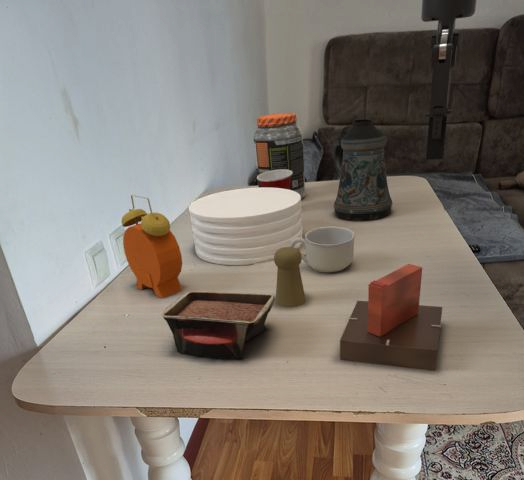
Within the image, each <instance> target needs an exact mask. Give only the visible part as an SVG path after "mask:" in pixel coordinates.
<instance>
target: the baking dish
mask: <svg viewBox="0 0 524 480" xmlns="http://www.w3.org/2000/svg"><path fill="white" fill-rule="evenodd" d="M274 301H275V295H274V293H255V292H253V293H252V292H231V291H229V292H228V291H205V290H204V291H202V290H200V291H199V290H192V291H187V292H186V293H184V294H182V295H181V296H180V297H178V298H176V300H174V301H173V302H172V303H170V304H169V306H167V307H166V308H165V310H164V311H163V312H162V313H161V317H162V318H163V319H164V320H165V322H166V323H167V325H168V327H169V329H170V331H171V333H172V337H173V340H174V345H175V348H176V353H178V354H180V355H184V356H190V357H195V358H200V359H201V358H204V359H213V360H236V361H237V360H238V361H239V360H243V358H244V349H245V348H244V347H245V343H246V342H248V341H249V340H251V339H253V338H254V337H257V336H258V335H259V334H260V333H262V332H264V331H266V330H267V326H266V325H265V324H266V321H267V317H268V315H269V313H270V312H271V310H272V308H273V305H274Z"/></svg>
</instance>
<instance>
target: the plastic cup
mask: <svg viewBox="0 0 524 480" xmlns="http://www.w3.org/2000/svg"><path fill="white" fill-rule="evenodd" d="M292 173H293V172H292V171H291V170H284V169H281V170H272V171H268V172H264V173H262V174H260V175H258V176H257V175H256V179H257V181H258V180H259V182H260V185H261V187H269V188H282V189H288V190H290V182H291V175H292Z"/></svg>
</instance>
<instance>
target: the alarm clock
mask: <svg viewBox="0 0 524 480" xmlns="http://www.w3.org/2000/svg"><path fill="white" fill-rule="evenodd" d="M133 197H136V198H141V199H146V200H147V203H148V207H149V211H150V212H149V213H147V212H146V210H144V209H142V208H135V204H134V203H135V202H134V198H133ZM130 198H131V203H132V208H130V209H128V212H126V213H125V214H124V215H123V216H122V217H121V221H120V222H121V225H122V227H123V228H126V227H128V228H126V229H125V230H124V233H123V238H122V245H123V251H124V255H125V258H126V262H127V263H128V266H129V267H130V270H131V272H133V275H134V276H135V277H136V288H137V289H140V290H142V291H143V290H144V289H147V288H151V289H152V290H153V292H154V293H155V296H156V297H158V298H160V299H165V298H166V297H169V296H171V295H173V294H176V293H178V292H180V291H182V290H183V288H182V285H181V282H180V280H179V279H178V278H179V276H180V274H181V272H182V269H183V268H182V267H183V258H182V257H183V256H182V252H181V248H180V245H179V243H178V241H177V239H176V237H175V235H174V234H173V232H172V231H171V223H170V221H169V219H168V217H166V216H165V215H164V214H162V213H159V212H155V211H153V210H152V206H151V202H150V198H149V197H145V196H140V195H134V194H132V195H130Z"/></svg>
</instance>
